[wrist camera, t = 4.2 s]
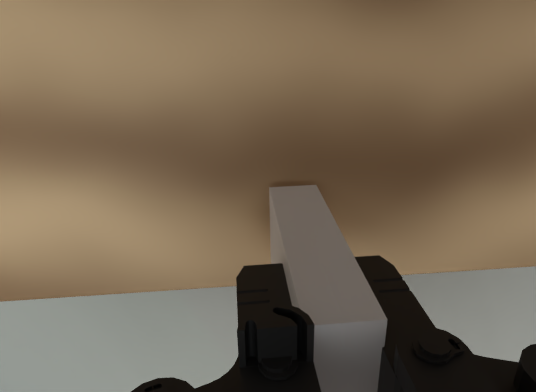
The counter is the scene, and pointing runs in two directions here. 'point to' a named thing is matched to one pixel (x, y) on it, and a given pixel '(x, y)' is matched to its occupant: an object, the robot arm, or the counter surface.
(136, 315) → the counter surface
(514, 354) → the counter surface
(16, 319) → the counter surface
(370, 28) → the oak plank
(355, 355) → the robot arm
